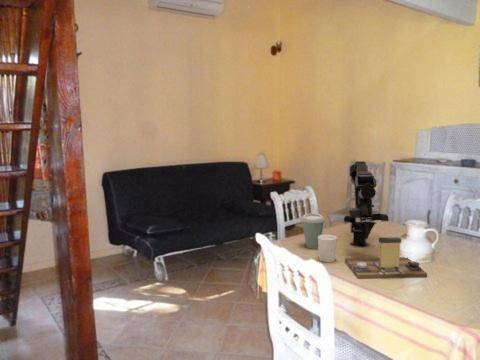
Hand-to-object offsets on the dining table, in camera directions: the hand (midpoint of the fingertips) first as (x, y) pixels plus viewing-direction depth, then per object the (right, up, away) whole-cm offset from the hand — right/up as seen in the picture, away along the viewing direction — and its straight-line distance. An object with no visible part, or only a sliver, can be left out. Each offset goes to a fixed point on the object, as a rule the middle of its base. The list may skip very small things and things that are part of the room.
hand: (365, 238), depth 168 cm
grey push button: (-6, -9, -14) cm, 18 cm away
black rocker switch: (+14, -8, -14) cm, 21 cm away
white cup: (-16, -9, +2) cm, 18 cm away
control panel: (+4, -11, -10) cm, 15 cm away
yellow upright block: (+4, -10, -15) cm, 19 cm away
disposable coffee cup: (-19, -7, +21) cm, 29 cm away
